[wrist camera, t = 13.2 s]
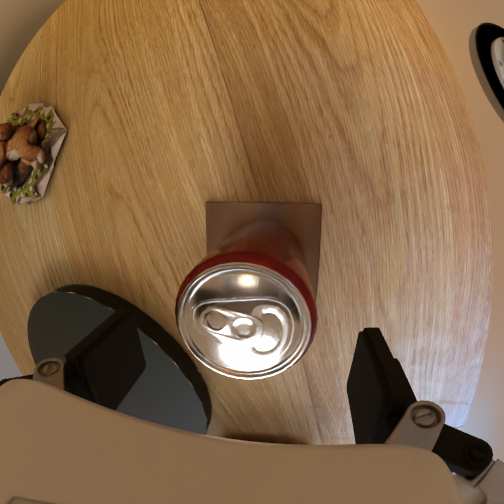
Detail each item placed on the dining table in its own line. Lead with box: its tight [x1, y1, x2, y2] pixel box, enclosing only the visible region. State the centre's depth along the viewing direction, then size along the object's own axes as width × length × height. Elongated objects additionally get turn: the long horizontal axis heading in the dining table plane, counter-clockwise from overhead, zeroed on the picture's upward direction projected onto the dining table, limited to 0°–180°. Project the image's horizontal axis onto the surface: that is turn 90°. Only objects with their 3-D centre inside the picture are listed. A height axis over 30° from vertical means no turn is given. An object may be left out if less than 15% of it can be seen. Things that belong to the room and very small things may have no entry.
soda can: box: [175, 219, 318, 379], centre depth 19 cm, size 7×7×12 cm
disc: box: [28, 284, 212, 435], centre depth 31 cm, size 30×30×3 cm
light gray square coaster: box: [206, 202, 322, 303], centre depth 25 cm, size 10×10×1 cm
